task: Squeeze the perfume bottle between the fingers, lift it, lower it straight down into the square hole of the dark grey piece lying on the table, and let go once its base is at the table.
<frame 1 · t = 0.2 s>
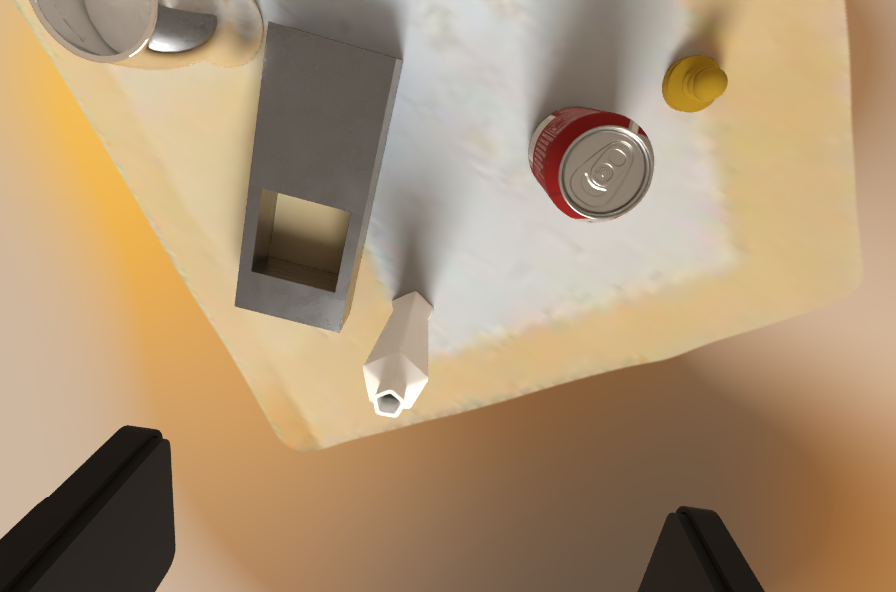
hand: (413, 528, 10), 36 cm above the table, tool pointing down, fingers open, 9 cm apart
soda can: (569, 150, 42), on the table
dark grey piece: (321, 184, 44), on the table
chess piece: (687, 84, 40), on the table
beer glass: (224, 24, 40), on the table
perfume bottle: (412, 308, 48), on the table
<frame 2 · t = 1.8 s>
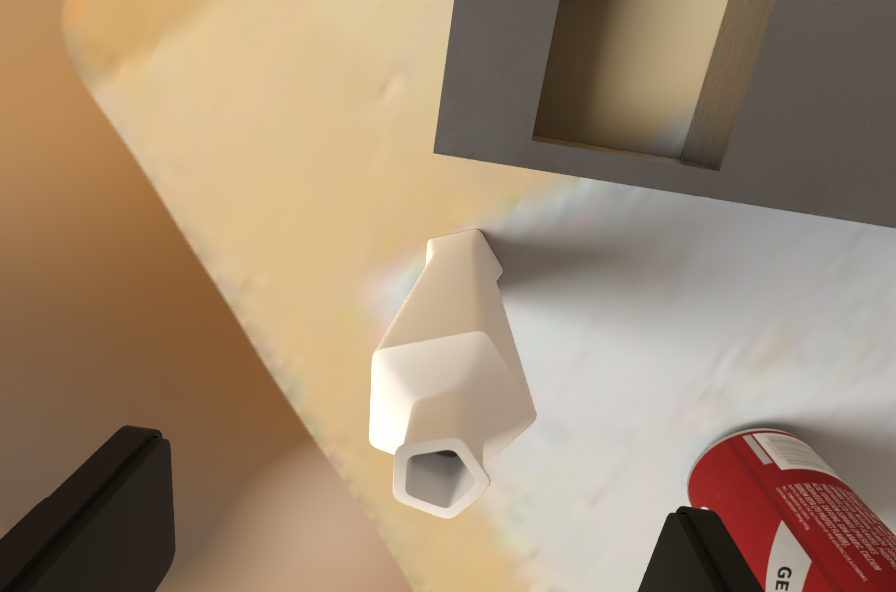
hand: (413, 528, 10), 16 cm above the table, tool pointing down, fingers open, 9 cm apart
soda can: (744, 470, 29), on the table
dark grey piece: (718, 75, 22), on the table
perfume bottle: (465, 266, 25), on the table
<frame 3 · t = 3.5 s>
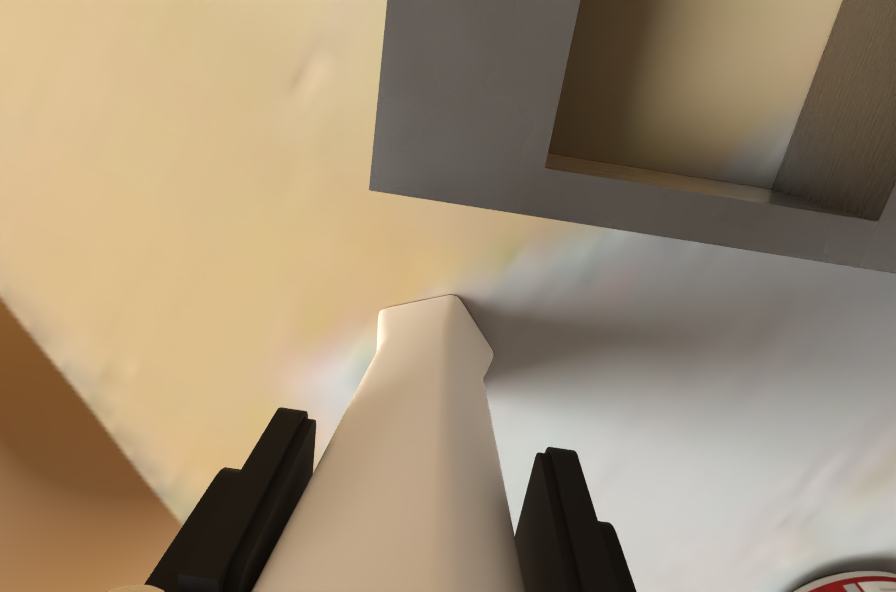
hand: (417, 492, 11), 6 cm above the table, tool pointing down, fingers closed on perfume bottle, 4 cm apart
dark grey piece: (842, 55, 13), on the table
perfume bottle: (436, 347, 17), on the table, touching gripper
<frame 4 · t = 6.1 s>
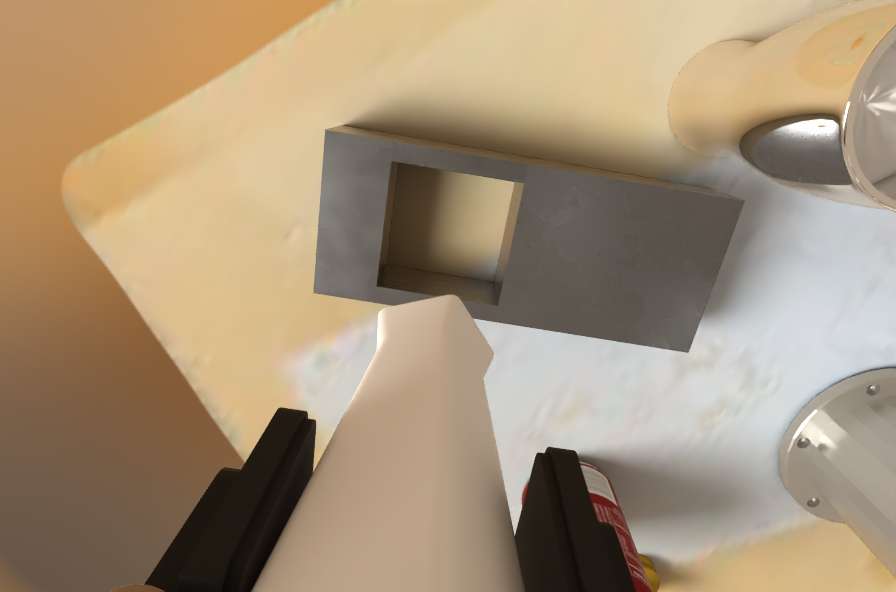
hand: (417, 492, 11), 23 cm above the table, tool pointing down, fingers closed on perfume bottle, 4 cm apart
soda can: (565, 489, 39), on the table
dark grey piece: (512, 231, 32), on the table
chess piece: (628, 569, 42), on the table
beer glass: (720, 100, 29), on the table
perfume bottle: (436, 347, 17), point 16 cm above the table, touching gripper
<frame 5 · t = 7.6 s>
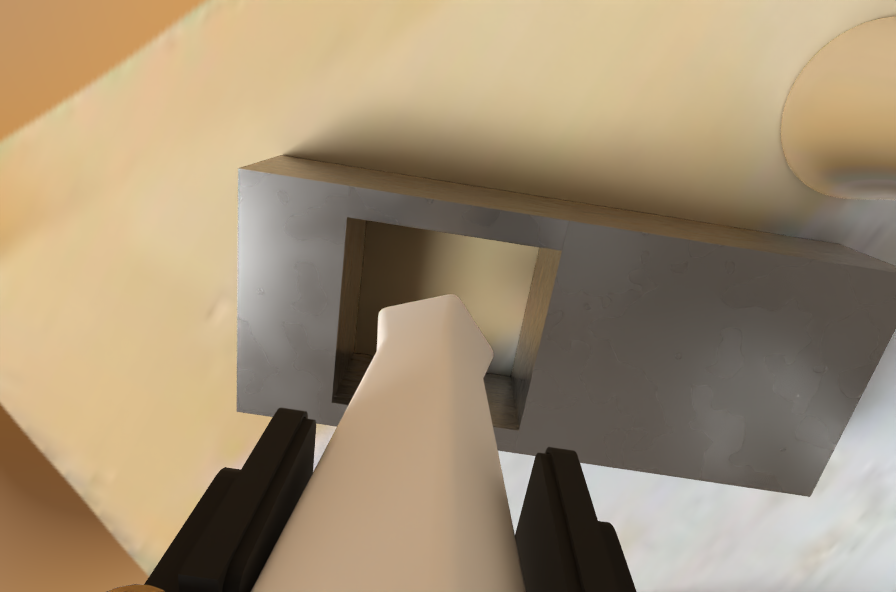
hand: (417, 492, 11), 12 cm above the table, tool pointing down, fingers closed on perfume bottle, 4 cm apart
dark grey piece: (538, 306, 22), on the table
beer glass: (862, 112, 19), on the table
perfume bottle: (436, 346, 17), point 5 cm above the table, touching gripper
when the fingers open (7 cm above the table, at t = 8.9 s): perfume bottle stays where it is, resting in dark grey piece.
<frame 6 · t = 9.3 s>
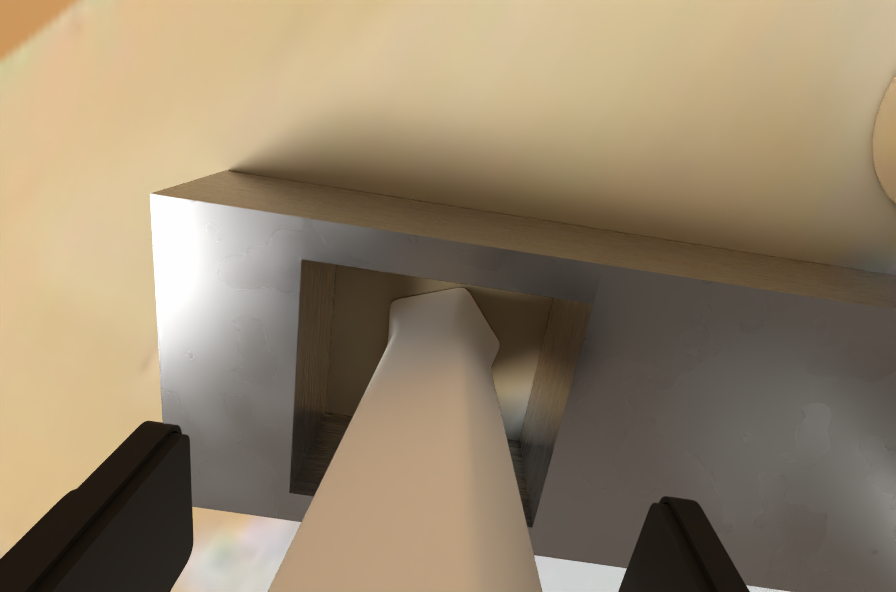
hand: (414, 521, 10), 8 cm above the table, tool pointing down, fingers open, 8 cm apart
dark grey piece: (554, 357, 17), on the table
perfume bottle: (445, 338, 18), resting in dark grey piece
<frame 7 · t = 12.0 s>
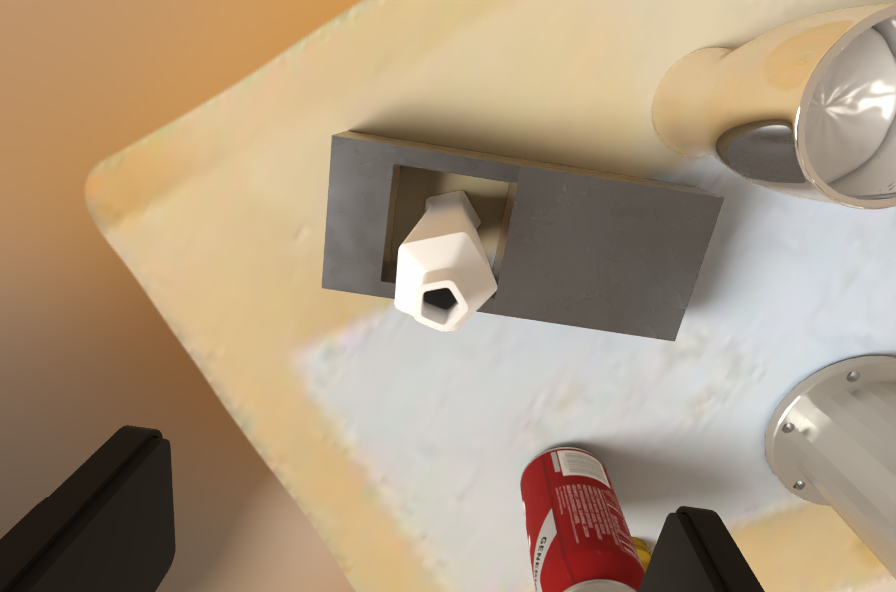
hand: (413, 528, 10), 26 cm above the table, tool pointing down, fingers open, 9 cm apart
soda can: (561, 474, 41), on the table
dark grey piece: (508, 228, 34), on the table
chess piece: (624, 552, 44), on the table
beer glass: (702, 103, 31), on the table
perfume bottle: (452, 219, 34), resting in dark grey piece
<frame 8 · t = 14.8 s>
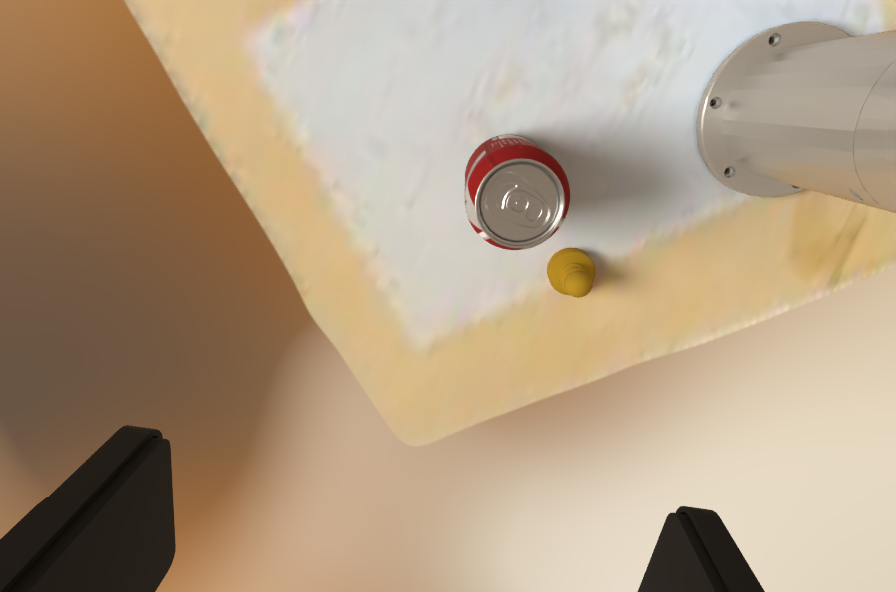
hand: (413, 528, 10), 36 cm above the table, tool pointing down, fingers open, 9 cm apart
soda can: (505, 176, 43), on the table
chess piece: (568, 268, 46), on the table
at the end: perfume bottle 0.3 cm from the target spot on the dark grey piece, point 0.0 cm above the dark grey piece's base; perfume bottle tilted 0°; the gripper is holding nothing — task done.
